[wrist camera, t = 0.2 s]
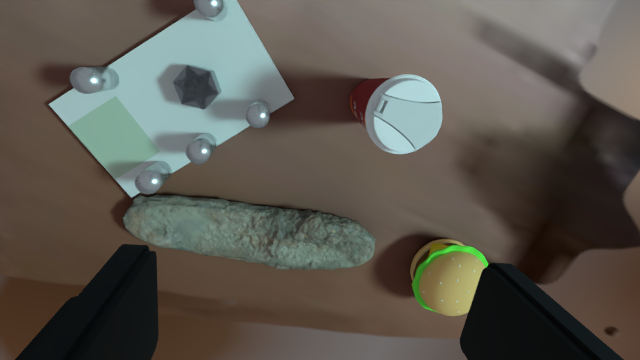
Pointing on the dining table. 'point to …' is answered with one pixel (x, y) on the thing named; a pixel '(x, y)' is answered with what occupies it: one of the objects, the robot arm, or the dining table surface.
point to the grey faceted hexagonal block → (197, 86)
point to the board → (174, 95)
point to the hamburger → (446, 276)
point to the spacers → (202, 146)
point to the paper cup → (398, 112)
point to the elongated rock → (250, 232)
